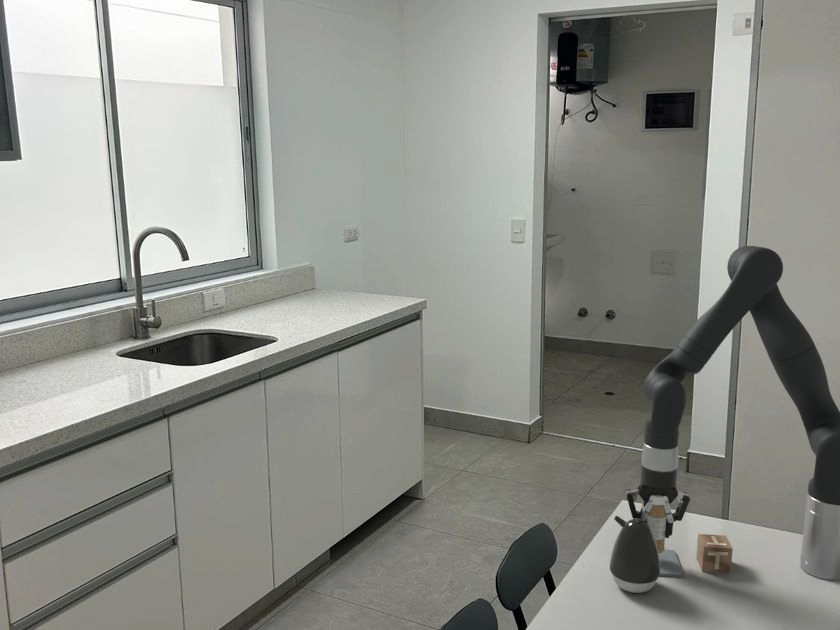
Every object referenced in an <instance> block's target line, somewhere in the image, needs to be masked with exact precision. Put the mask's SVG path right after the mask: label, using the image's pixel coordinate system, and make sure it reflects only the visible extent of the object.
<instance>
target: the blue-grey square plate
mask: <svg viewBox="0 0 840 630" xmlns="http://www.w3.org/2000/svg"><path fill="white" fill-rule="evenodd" d="M675 550H676V549H664V551H663V552H662V553H658V554H659V563H660V575H659V577H667V578H668V577H671V578H684V572H683V569H682V567H681V564H680V561H679V559H678V556H677V553H676V551H675Z"/></svg>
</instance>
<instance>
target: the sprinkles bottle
mask: <svg viewBox="0 0 840 630" xmlns="http://www.w3.org/2000/svg"><path fill="white" fill-rule="evenodd" d="M651 504H653V505H652V508H651V510H650V513H649V514H648V516H647V518H646V522H647V524H648V526H649V527H650V529H651V531H652V533H653V535H654V538H655V541H656V545H657V549H658V553H662V552H663V551H664V549H665V541H666V538H665V533H666V518H667V516H666V512H665V508H664V507H665V506H664V505H665V504H666V503H665V502H664V498H663V497H662V496H661V495H655V497H654V498H653V502H651ZM665 550H666V549H665Z"/></svg>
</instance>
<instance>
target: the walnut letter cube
mask: <svg viewBox="0 0 840 630" xmlns="http://www.w3.org/2000/svg"><path fill="white" fill-rule="evenodd" d="M733 550H734V549H733V546H732V544H731V543H730V541H729V539H728V536H727V535H726V534H725V535H724V534H705V533H704V534H703V533H698V534H697V546H696V557H695V558H696V561H697V563H698V565H699V568H700V570H701V572H702V573H715V574H716V573H717V574H731V572H732V571H731V570H732V563H733V562H732V561H733Z"/></svg>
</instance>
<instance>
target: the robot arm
mask: <svg viewBox="0 0 840 630" xmlns="http://www.w3.org/2000/svg"><path fill="white" fill-rule="evenodd" d="M727 261H728V262H727V267H726V269H727V274H728V276H729V279H730V283H729V285H728V287H727V288H726V289H725V291H723V294H721V296H720V297H719V299H718V300H717V301H716V302H715V303H714V304H713V305H712V306H711V307H710V308H709V309H708V310H707V311H705V312H704V313H703V315H701V316H700V317H699V318H698V319H697V320H696V321H694V323H692V325H691V326H690V327H689V329H688V330H687V331H686V332H685V334H684V335H683V337H682V338H681V339H680V341H678V342H677V345H676V346H675V347H674V348H673V350H672V351H671V353H669V354H668V355H667V356H666V357H664V358H663V359H662V360H661V361H660V362H659V363H658V364H657V365H656V366H654V368H652V370H651V371H650V372H648V375H647V376H646V379H645V381H644V384H643V392H644V394H645V397H646V398H647V399H648V400H649V401H650V402H651V403H652V411H651V416H649V417H647V419H646V421H645V426H644V438H643V439H644V440H643V447H642V452H641V469H640V484H639V486H638V487H637V489H633V490H631V489H629V488H628V489H626V490H625V495H626V499H627V503H628V506H629V509H630V510H629V511H630V513H631V518H632V519H641V520H643V521H645V522H646V518H647V516H648V514H649V513H650V510H651V508H652V505H653V504H651V502H653V498H654V497H655V495H661V496H662V497H663V498H664V502H665V503H666V504H665V505H664V506H665V507H664V508H665V512H666V516H667V518H666V533H665V539H669V538H670V536H671V537H672V535H673V527H674V523H675V522H677V521H678V522H680V521H682V520H683V518H684V516H685V513H686V511H687V508H688V506H689V503H690V501H691V498H690V496H689V494H688V492H686V491H684V492H680V491H678V489H677V481H678V467H679V448H678V446H679V436H680V435H679V434H680V433H679V432H680V431H679V430H680V425H681V422H682V418H683V415H684V413H685V407H686V405H687V395H686V389H685V387H684V385H683V384H682V382H683V381H684V380H685V379H686V378H687V377H688V376H689V375H696V374H699V373H700V372H701V371H702V370H703V369H704V368H705V366H706V365H707V363H709V361H710V360H711V358H712V357H713V356H714V354H715V353H716V351H717V350H718V348H719V347H720V346H721V344H722V343H723V342H724V341H725V339H726V338H727V337H728V335H730V333H731V332H732V331H733V329H734V328H735V326H737V325H738V323H739V322H740V321H742V319H743V318H744V317H745V316H746V315H747V314H748V312H750V314H751V315H750V316H751V317H752V319H753V321H754V325H755V327H756V329H757V332H758V334H759V336H760V339H761V341H762V344H763V346H764V348H765V351H766V353H767V356H768V358H769V360H770V362H771V364H772V366H773V369H774V371H775V373H776V375H777V377H778V379H779V381H780V382H781V384H782V386H783V387H784V390H785V391H786V392H787V394H788V396H789V398H790V399H791V400H792V402H793V403H794V405H795V406H796V409H797V410H798V413H799V415H800V419H801V421H802V424H803V427H804V430H805V433H806V436H807V439H808V444H809V446H810V449H811V451H812V452H813V454H814V455H815V464H814V471H813V477H812V478H811V479H810V480H809V481H808V485H807V486H808V487H807V494H806V495H807V496H806V503H805V504H806V505H805V512H804V513H805V514H804V523H803V524H804V525H803V533H802V534H803V535H802V541H801V543H802V544H801V550H800V551H801V552H800V565H799V566H800V568H801V569H802V570H803V571H804V572H805V573H807V574H808V575H811V576H813V577H815V578H818V579H822V580H823V579H824V580H830V581H831V580H832V581H835V580H837V581H838V580H840V410H839V408H838V406H837V405H836V402H835V400H834V399H833V396H832V394H831V391H830V388H829V382H828V377H827V373H826V369H825V365H824V362H823V360H822V358H821V355H820V353H819V350H818V348H817V346H816V345H815V342H814V340H813V338H812V336H811V335H810V333H809V332H808V330H807V328H806V327H805V325H804V323H802V322H801V321H800V319H799V318H798V317H797V315H796V314H795V313H794V311H793V310H792V309H791V308H790V306H789V305H788V304H787V302H786V301H785V298H784V297H783V295H782V293H781V291H780V289H779V285H778V282H779V281H780V280H781V279H782V276H783V273H784V272H783V271H784V264H783V260H782V257H781V256H780V255H779V254H778V253H777V252H776V251H775V250H772V249H771V248H768V247H767V248H766V247H763V246H756V245H743V246H740V247H739V248H737V249H734V251H732V253H731V255H729V259H728V260H727ZM638 496H639V497H640V498H641V499H642V503H641V508H640V510H639V511H638V510H637V508H636V504H635V501H637V498H638ZM676 498H677V501H678V504H677V506H676V509H675V512H672V508H671V504H672V503H673V502H674V501H675V500H676ZM646 523H647V522H646Z"/></svg>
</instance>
